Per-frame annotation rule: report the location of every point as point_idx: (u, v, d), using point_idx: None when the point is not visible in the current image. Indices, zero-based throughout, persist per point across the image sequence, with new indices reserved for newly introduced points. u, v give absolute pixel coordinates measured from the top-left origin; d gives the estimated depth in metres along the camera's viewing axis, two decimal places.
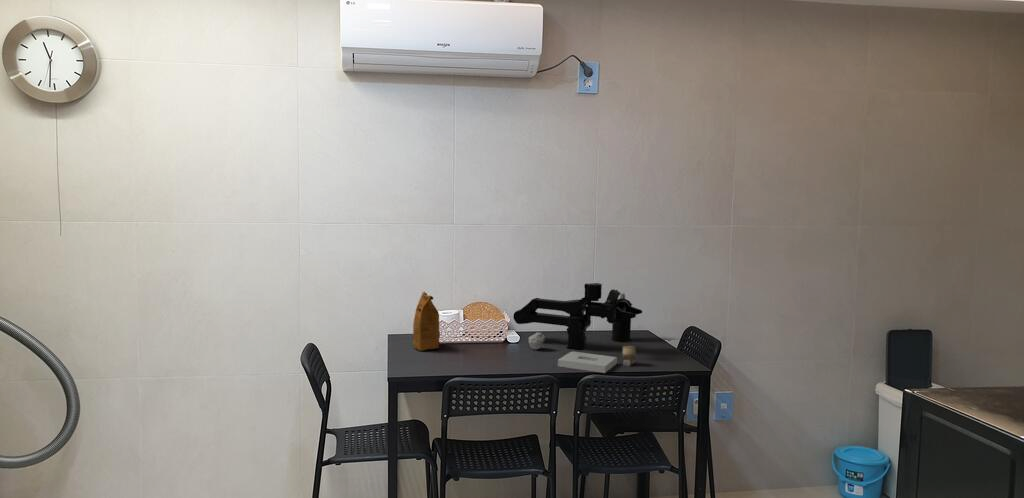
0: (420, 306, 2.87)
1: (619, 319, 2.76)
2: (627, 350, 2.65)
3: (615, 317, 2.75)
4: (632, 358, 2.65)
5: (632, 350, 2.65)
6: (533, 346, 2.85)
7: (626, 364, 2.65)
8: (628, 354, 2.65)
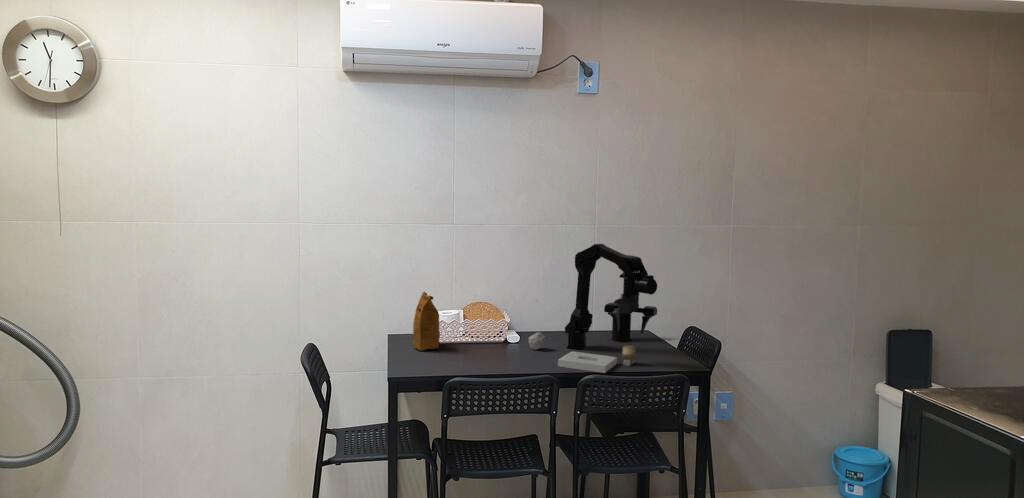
0: (420, 306, 2.87)
1: None
2: (627, 350, 2.65)
3: None
4: (632, 358, 2.65)
5: (632, 350, 2.65)
6: (533, 346, 2.85)
7: (626, 364, 2.65)
8: (628, 354, 2.65)
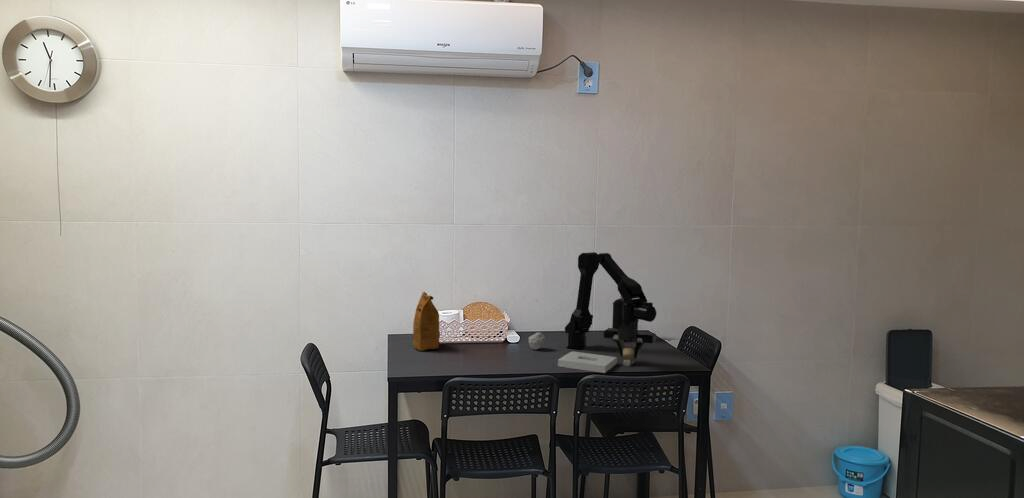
0: (420, 306, 2.87)
1: None
2: (627, 350, 2.65)
3: None
4: (632, 358, 2.65)
5: (632, 350, 2.65)
6: (533, 346, 2.85)
7: (626, 364, 2.65)
8: (628, 354, 2.65)
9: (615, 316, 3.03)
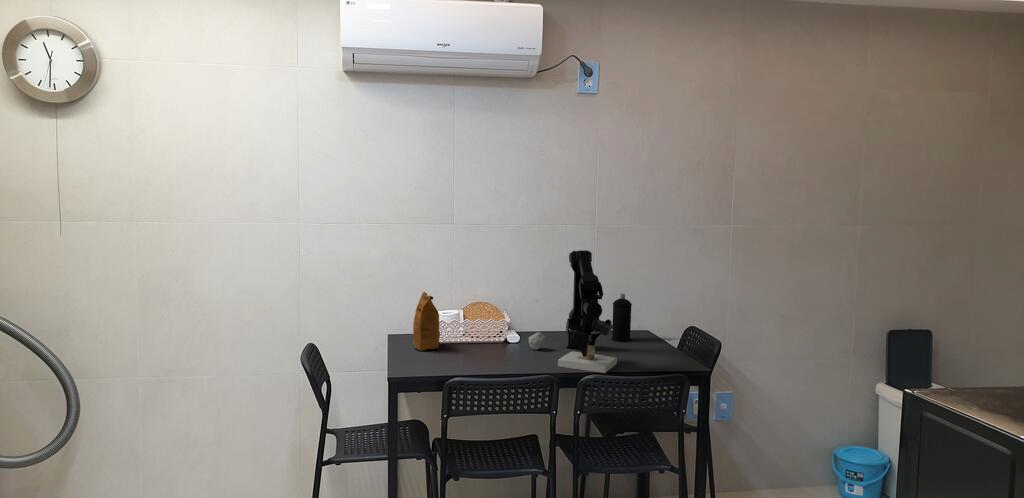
0: (420, 306, 2.87)
1: (578, 341, 2.60)
2: (594, 349, 2.64)
3: (579, 339, 2.58)
4: None
5: None
6: (533, 346, 2.85)
7: None
8: (594, 352, 2.64)
9: (615, 316, 3.03)
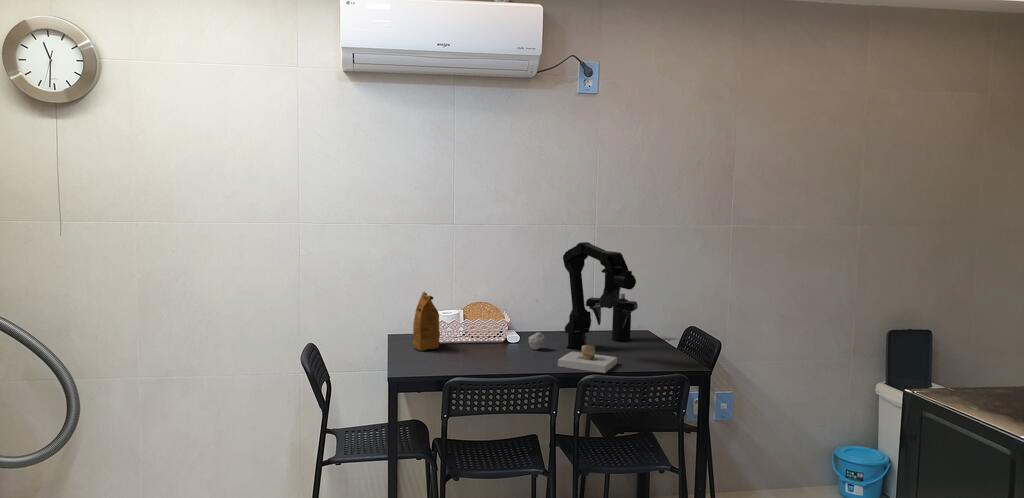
0: (420, 306, 2.87)
1: None
2: (594, 349, 2.64)
3: None
4: None
5: None
6: (533, 346, 2.85)
7: None
8: (594, 352, 2.64)
9: (615, 316, 3.03)
